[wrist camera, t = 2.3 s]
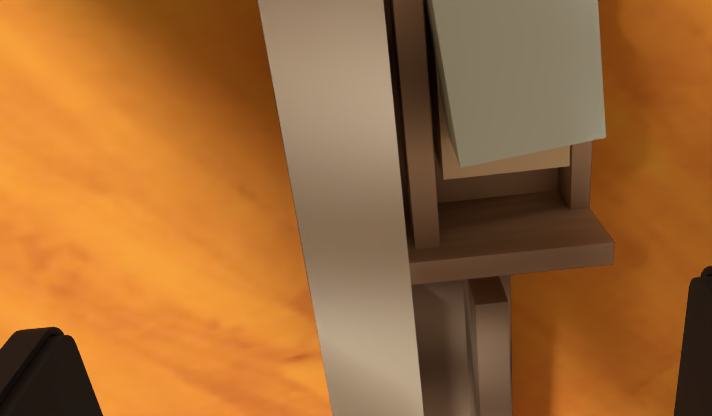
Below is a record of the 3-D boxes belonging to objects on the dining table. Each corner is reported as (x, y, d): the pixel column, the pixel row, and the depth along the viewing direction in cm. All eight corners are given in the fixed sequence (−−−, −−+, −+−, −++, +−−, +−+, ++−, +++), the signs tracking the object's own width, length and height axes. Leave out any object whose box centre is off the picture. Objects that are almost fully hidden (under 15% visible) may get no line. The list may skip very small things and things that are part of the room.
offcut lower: (421, -39, 25) (429, -30, 22) (551, -56, 25) (575, -49, 22) (435, 152, 29) (443, 179, 26) (549, 139, 28) (569, 166, 26)
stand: (343, 258, 32) (342, 318, 28) (505, 241, 32) (529, 299, 27) (370, 435, 38) (372, 509, 33) (509, 423, 37) (530, 497, 33)
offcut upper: (421, -21, 23) (430, -9, 20) (566, -55, 22) (595, -47, 19) (449, 137, 25) (460, 167, 23) (579, 110, 25) (606, 137, 22)
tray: (256, -149, 24) (228, -159, 19) (578, -193, 24) (644, -216, 18) (318, 225, 31) (310, 295, 26) (568, 198, 31) (612, 264, 25)
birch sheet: (314, -67, 25) (256, -4, 10) (366, -74, 25) (381, -19, 10) (347, 172, 29) (338, 449, 15) (391, 167, 29) (426, 442, 15)
